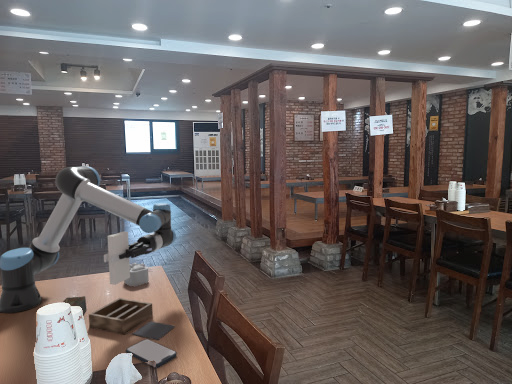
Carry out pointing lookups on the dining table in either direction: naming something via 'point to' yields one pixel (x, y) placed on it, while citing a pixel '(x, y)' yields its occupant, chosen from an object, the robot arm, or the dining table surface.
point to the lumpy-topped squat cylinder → (137, 275)
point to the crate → (120, 315)
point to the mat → (153, 330)
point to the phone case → (151, 352)
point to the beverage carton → (77, 302)
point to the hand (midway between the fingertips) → (108, 258)
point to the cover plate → (120, 268)
